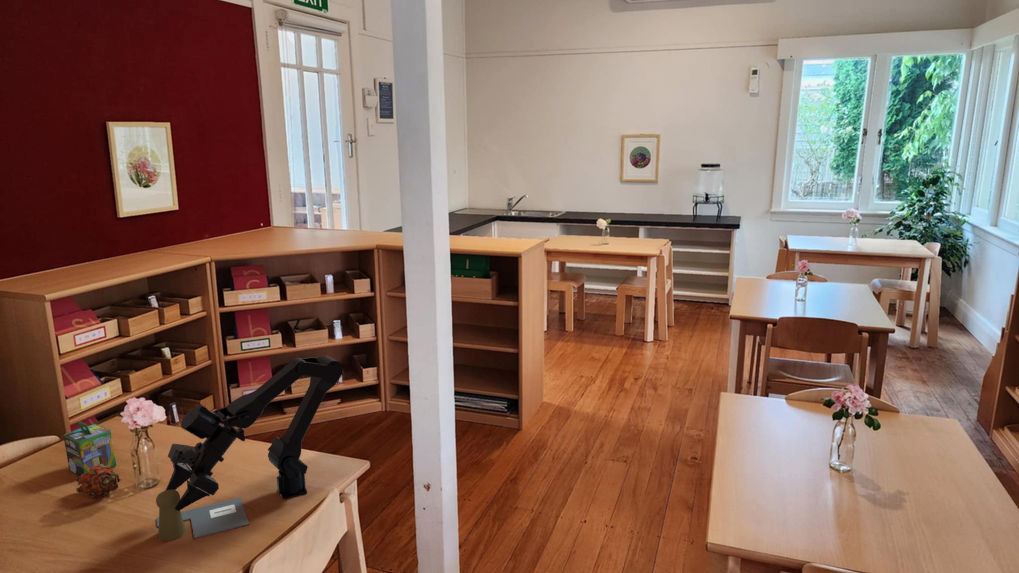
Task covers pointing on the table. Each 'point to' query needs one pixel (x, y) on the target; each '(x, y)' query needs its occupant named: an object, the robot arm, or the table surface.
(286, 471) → the robot arm
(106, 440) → the chalk box
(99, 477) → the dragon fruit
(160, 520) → the olive green pawn
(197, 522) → the label panel
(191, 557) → the table surface
